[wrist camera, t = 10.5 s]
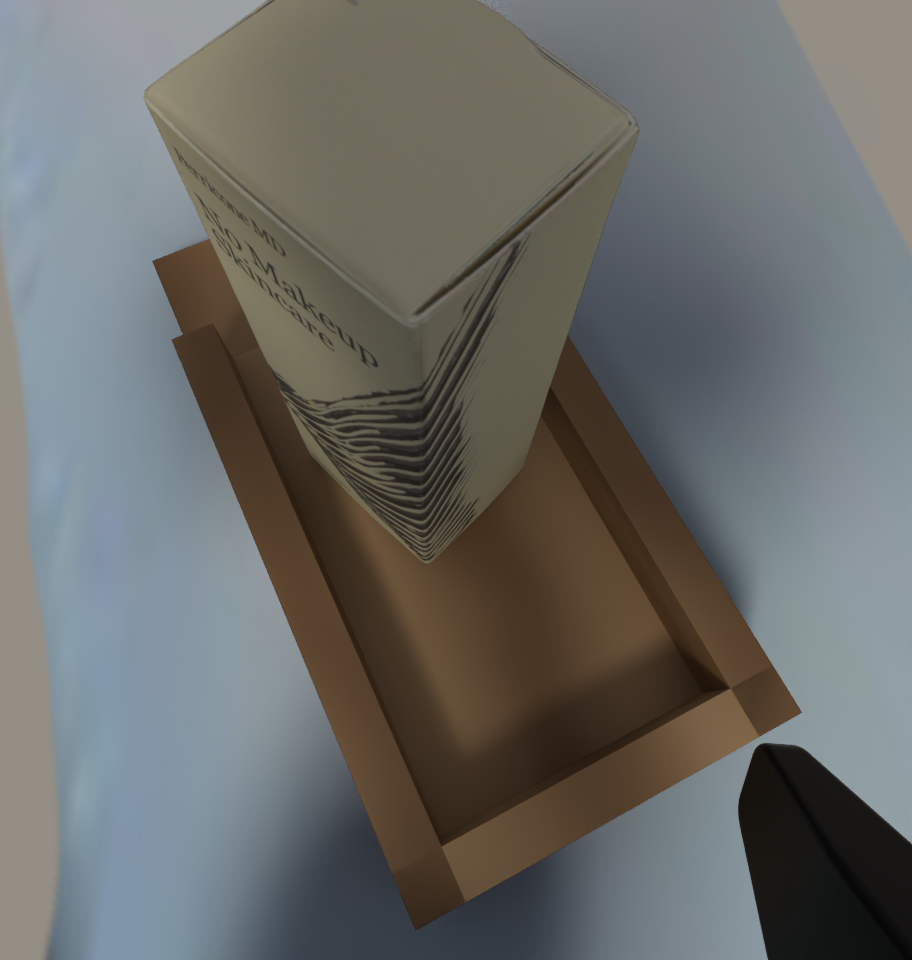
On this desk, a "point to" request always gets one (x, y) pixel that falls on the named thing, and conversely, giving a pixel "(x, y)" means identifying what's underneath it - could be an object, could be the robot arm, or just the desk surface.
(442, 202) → the box
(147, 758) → the desk surface
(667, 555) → the tray
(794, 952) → the robot arm
